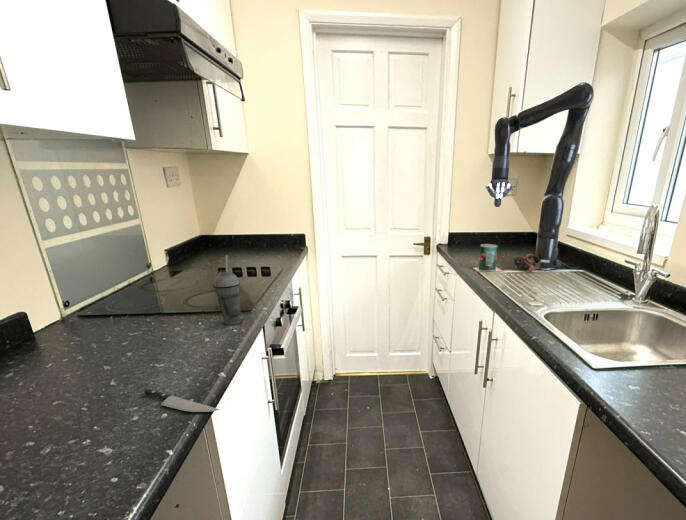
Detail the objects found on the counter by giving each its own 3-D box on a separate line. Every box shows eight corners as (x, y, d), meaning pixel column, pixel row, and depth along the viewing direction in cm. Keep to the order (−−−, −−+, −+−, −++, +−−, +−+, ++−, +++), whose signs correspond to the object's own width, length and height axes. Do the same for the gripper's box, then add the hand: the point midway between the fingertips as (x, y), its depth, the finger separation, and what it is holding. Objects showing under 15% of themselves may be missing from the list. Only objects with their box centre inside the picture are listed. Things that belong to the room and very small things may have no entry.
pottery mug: (533, 268, 196) (541, 254, 190) (535, 281, 190) (544, 267, 184) (509, 262, 195) (517, 248, 188) (510, 274, 188) (519, 260, 182)
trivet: (496, 267, 197) (496, 266, 197) (503, 271, 188) (503, 270, 188) (472, 267, 195) (472, 267, 195) (478, 272, 187) (478, 271, 187)
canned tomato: (499, 269, 190) (501, 245, 186) (486, 271, 187) (488, 247, 182) (487, 266, 197) (489, 243, 192) (475, 268, 193) (476, 244, 189)
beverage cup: (220, 319, 126) (208, 254, 118) (245, 317, 128) (235, 252, 120) (219, 327, 119) (207, 258, 112) (245, 324, 122) (235, 257, 114)
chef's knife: (208, 419, 75) (220, 410, 77) (207, 414, 74) (219, 405, 77) (134, 399, 81) (148, 391, 84) (133, 394, 81) (146, 386, 83)
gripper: (489, 166, 182) (486, 207, 189) (517, 166, 184) (513, 207, 191) (484, 167, 189) (481, 206, 196) (511, 167, 191) (507, 206, 198)
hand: (497, 206), depth 193 cm, fingers closed
